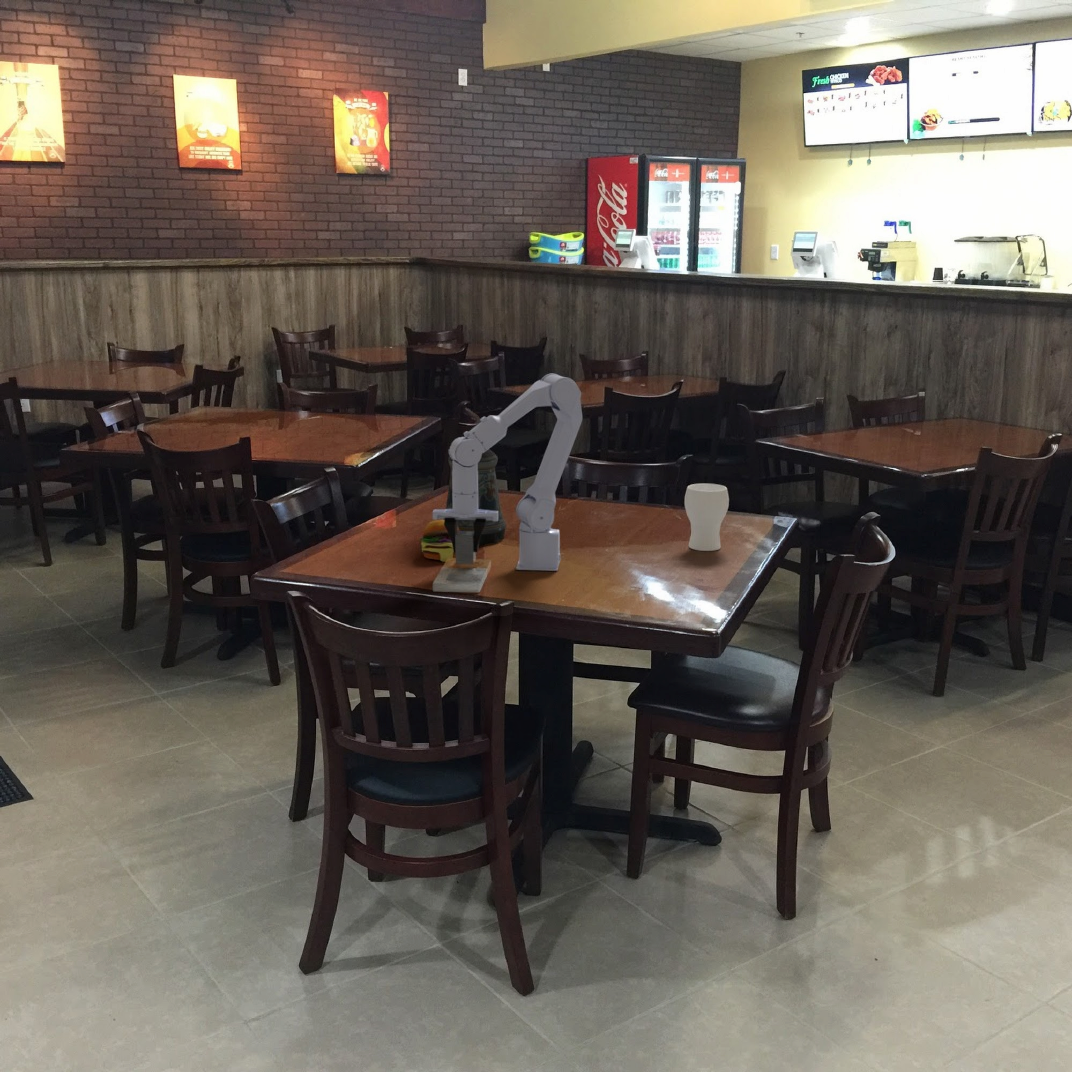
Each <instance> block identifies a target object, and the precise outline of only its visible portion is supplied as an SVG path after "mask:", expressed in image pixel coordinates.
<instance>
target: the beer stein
mask: <svg viewBox="0 0 1072 1072" xmlns="http://www.w3.org/2000/svg"><path fill="white" fill-rule="evenodd" d="M498 459H499V458H498V456H497V454H495V452H494V451H492V450H491V449H490V448H489V449H488V450H487V451H486V452H484V453H482V456H481V459H480V461H479V462H478V509H481V510H490V511H498V521H493V520H487V522H486V524H485V527H484V529H483V532H482V535H481V538H480V542H479V546H482V545H483V546H484V545H490V544H491V545H492V544H496V543H499V542H500V541H503V540H504V539H505V533H506V528H507V522H506V520H505V518H504V515H503V512H502V507H501V502H500V495H499V488H498V483H497V482H498V481H497V475H496V466H497V463H498ZM447 461H448V465H449V467H450V476H449V483H448V490H447V499H446V504H445V509H453V495H452V471H453V462H452V461H453V459H452V458H451V457H450V455H449V456H448V458H447ZM442 520H445V519H442ZM475 521H476V520H458V528H459V530H460V531H471V532H474V522H475Z"/></svg>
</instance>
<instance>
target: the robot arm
mask: <svg viewBox="0 0 1072 1072" xmlns="http://www.w3.org/2000/svg"><path fill="white" fill-rule="evenodd" d="M581 397H582V392H581V390H580V388H579V386H578V385H577V383H576V382H575V381H574V380H573V379H572V378H570V377H565V376H562V375H559V374H557V373H548V374H545V375H544V376H543V377H542V378H541V379H538V380H537V381H534V383H533V384H532V385H530V387H529V388H527V390H526V391H525V392H524V393H522V394H521V395H520V396H518V398H516V399H515V400H514V401H513V402H512V403H510V404H509V405H508V406H507V407H506V408H505V409H504V410H502V411H501V412H500V413H499V414H498V415H491V414H490V415H488V416H487V417H486V416H483V417H481V418H480V419H479V421H480V422H479V423H478V424H477V425H475V426H473V427H472V428H471V430H469V431H467V430H466V431H464V432H463V435H464V436H461V437H457V438H454V440H453V441H452V442H451V444H450V446H449V449H448V455H449V456H450V457H451V458H452V459H453V461H452V462H453V471H452V495H453V509H446V508H444V509H443V508H442V509H433V510H432V521H435V520H443V519H445V521H444V526H445V528H446V530H447V532H448V534H449V536H450V539H451V542H452V545H453V551H454V552H456V551H455V535H456V534H457V528H458V520H476V521H475V522H474V552H476V553H478V552H479V548H480V547H479V546H480V545H479V542H480V538H481V535H482V532H483V529H484V527H485V524H486V522H487V520H493V521H498V511H490V510H481V509H478V462H479V461H480V459H481V456H482V453H484V452H486V451H487V450H488V449H490V448H492V447H493V446H495V445H496V444H497V443H499V441H501V440H502V439H503V438H505V437H506V435H507V431H508V428H509V427H510V426H512V425H513V424H514V423H516V422H517V421H518V420H520V419H521V418H522V417H524V416H525V415H526V414H528V413H529V412H530V411H532V410H533V409H535V408H538V407H551V409H552V411H553V413H554V415H555V417H556V419H557V420H556V422H555V425H554V428H553V431H552V434H551V437H550V438H549V441H548V445H547V447H546V449H545V452H544V454H543V458H542V460H541V463H540V466H539V469H538V470H537V472H536V473H537V474H536V476H535V479H534V481H533V484H532V485H531V486H529V488H527V490H526V491H525V494H524V496H523V497H522V498H521V499H520V500H519V501H518V503H517V505H516V509H515V513H516V516H517V518H518V519H519V520H520V524H519V528H518V529H519V531H518V532H519V533H518V534H519V537H518V540H519V541H518V543H519V545H518V546H519V550H518V552H519V553H518V554H519V557H518V562H517V565H516V567H515V570H516V571H517V570H519V571H549V572H550V571H552V572H553V571H554V572H555V571H556V572H557V571H558V570H559V567H560V566H559V565H560V563H561V555H562V554H561V553H560V552H561V551H560V550H561V547H560V546H561V539H560V538H561V534H560V532H561V531H560V529H556V528H552V525H553V524H554V521H555V508H556V504H557V500H556V491H557V488H558V486H559V482H560V480H561V477H562V475H563V472H564V470H565V467H566V465H567V462H568V460H569V457H570V454H571V451H572V448H573V446H574V443H575V440H576V439H577V436H578V432H579V431H580V427H581V425H582V423H583V411H582V404H581V403H582V401H581Z"/></svg>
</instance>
